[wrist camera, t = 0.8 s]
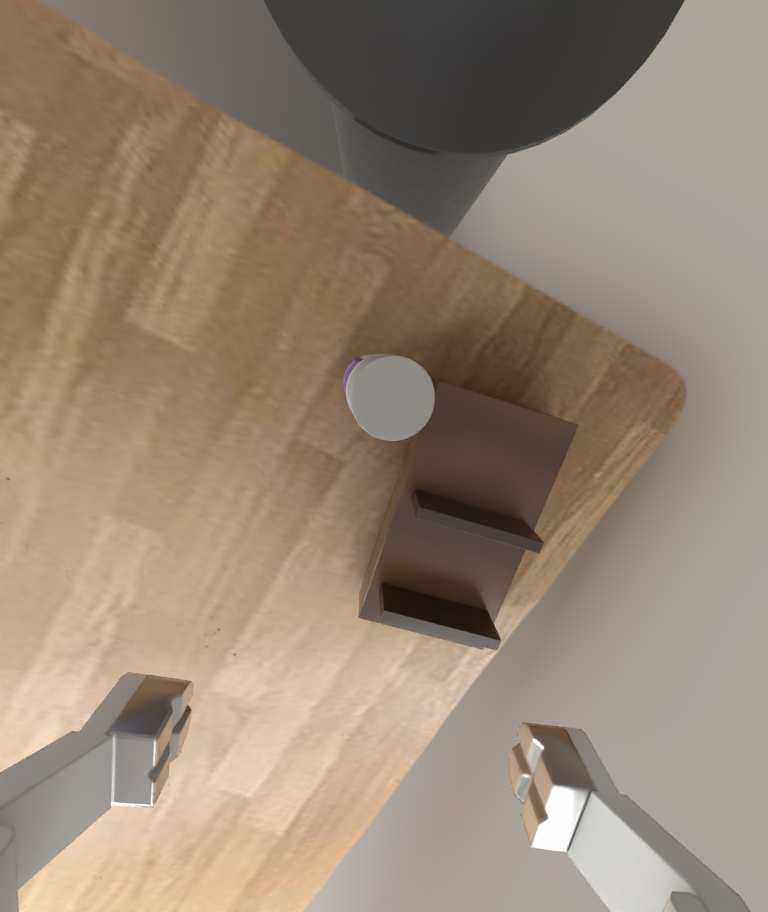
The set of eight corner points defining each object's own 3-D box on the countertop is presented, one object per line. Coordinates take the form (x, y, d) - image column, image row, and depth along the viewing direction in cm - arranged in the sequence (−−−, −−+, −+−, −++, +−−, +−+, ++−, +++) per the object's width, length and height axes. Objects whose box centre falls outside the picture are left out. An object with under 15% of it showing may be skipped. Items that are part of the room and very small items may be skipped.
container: (364, 419, 37) (383, 460, 22) (331, 376, 36) (329, 389, 21) (407, 388, 37) (454, 408, 22) (376, 343, 36) (403, 333, 21)
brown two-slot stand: (431, 377, 37) (448, 384, 29) (557, 417, 38) (605, 435, 30) (359, 593, 41) (356, 648, 34) (472, 622, 43) (495, 683, 35)
